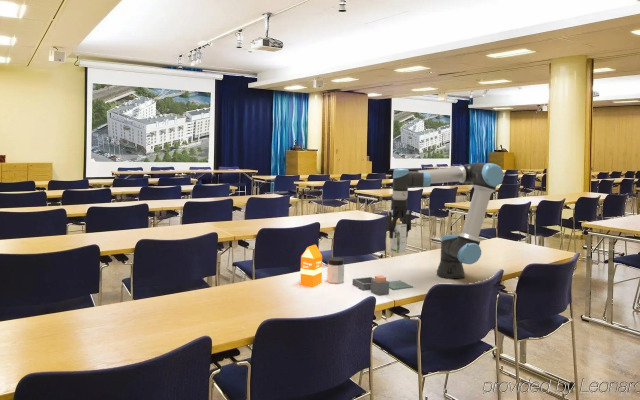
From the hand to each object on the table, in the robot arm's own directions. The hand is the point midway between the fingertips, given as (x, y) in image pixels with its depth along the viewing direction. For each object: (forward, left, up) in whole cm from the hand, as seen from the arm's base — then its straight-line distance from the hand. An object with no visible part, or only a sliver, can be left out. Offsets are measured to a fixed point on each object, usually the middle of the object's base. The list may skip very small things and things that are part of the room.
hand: (398, 244), depth 246 cm
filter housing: (+15, +1, -22) cm, 26 cm away
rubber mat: (0, 0, -22) cm, 22 cm away
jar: (+26, -18, -22) cm, 38 cm away
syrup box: (0, 0, -4) cm, 4 cm away
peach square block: (+15, +8, -18) cm, 24 cm away
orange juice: (+40, -18, -22) cm, 49 cm away
